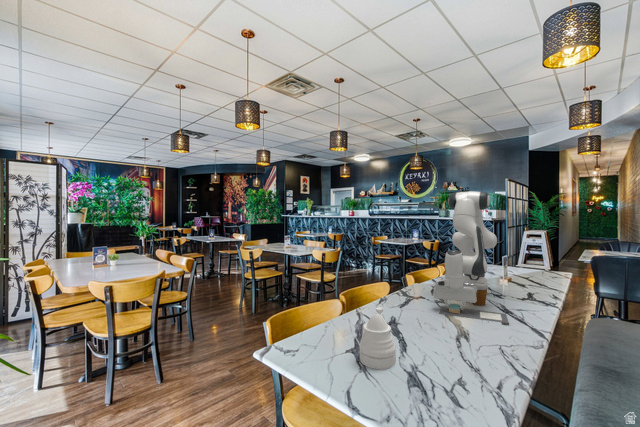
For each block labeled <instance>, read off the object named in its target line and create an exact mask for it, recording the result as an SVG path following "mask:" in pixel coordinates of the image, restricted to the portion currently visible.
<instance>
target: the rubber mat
mask: <svg viewBox="0 0 640 427" xmlns="http://www.w3.org/2000/svg"><path fill="white" fill-rule="evenodd" d="M438 314H439V315H443V316H451V317H458V318H464V319H465V318H466V319H473V320H481V321H489V322H496V323H501V325H503V326H510V324H509V323H510V322H509V319H508V316H507V313H503V312H495V311H488V310H487V311H486V310H478V309H471V308H469V309H468V308H463V310H460V314H458V313H451V312H449V309H448V308H446V305H441V306H440V308H439V311H438Z"/></svg>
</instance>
